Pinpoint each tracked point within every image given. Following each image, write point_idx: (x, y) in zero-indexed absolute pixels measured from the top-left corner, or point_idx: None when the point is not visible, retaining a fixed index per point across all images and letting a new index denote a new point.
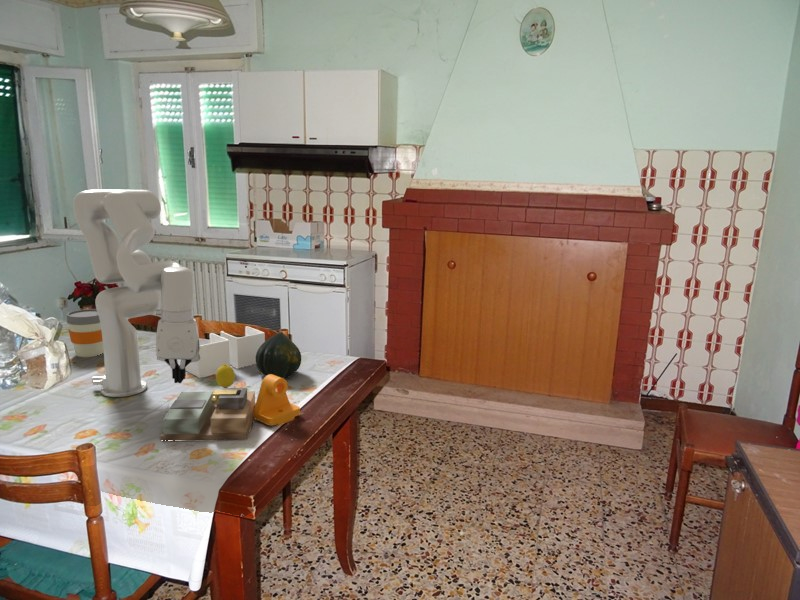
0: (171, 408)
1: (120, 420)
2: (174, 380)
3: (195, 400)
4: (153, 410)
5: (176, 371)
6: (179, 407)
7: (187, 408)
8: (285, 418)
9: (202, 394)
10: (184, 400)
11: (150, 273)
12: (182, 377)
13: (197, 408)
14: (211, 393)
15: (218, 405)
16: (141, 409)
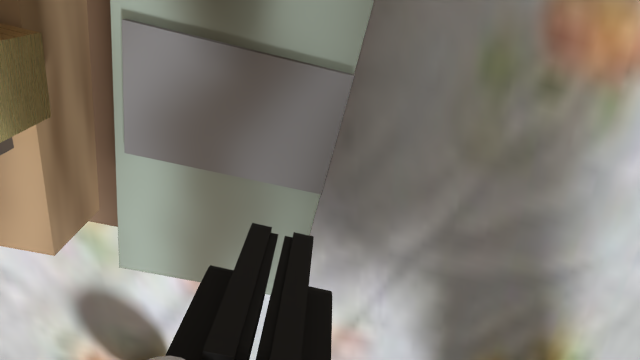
0: (344, 71)
1: (556, 200)
2: (310, 249)
3: (192, 157)
4: (415, 258)
5: (270, 336)
6: (288, 59)
7: (232, 44)
8: None
9: (171, 244)
10: (263, 174)
11: None
12: (223, 276)
13: (158, 22)
14: (121, 245)
15: None
16: (459, 277)
